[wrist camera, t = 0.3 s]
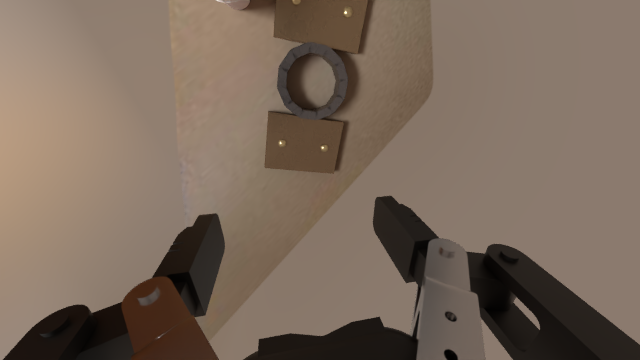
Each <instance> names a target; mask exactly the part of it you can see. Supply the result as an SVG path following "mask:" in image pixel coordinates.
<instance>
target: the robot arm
mask: <svg viewBox="0 0 640 360" xmlns="http://www.w3.org/2000/svg"><path fill="white" fill-rule="evenodd" d="M373 227H374V231H375V233H376V235H377V236H378V238H379V239H380V241H381V243H382V244H383V246H384V248H385V249H386V251H387V253H388V254H389V256H390V257H391V259H392V261H393V262H394V264H395V266H396V267H397V269H398V271H399V272H400V274H401V276H402V277H403V279H404V281H405V282H406V283H409V282H415V281H416V283H417V284H418V288H417V293H416V300H415V306H414V312H413V319H412V326H411V331H410V335H408V334H406V333H404V332H402V331H399V330H396V329H393V328H388V327H384V326H383V324H382V322H381V319H380V317H376V318H371V319H366V320H360V321H355V322H351V323H349V324H347V325H345V326H343V327H341V328H339V329H337V330H335V331H333V332H331V333H329V334H327V335H325V336H312V335H301V334H285V335H280V336H274V337H269V338H264V339H259V346H258V351H257V352H255V353H253V354H251V355H250V356H248V357H246V358H245V359H244V360H485V352H484V343H483V335H482V327H481V318H482V320H483V321H484V322H485V323H486V325H487V326H488V327H489V329H490V330H491V331H492V333H493V334H494V335H495V337H496V338H497V339H498V340H499V342H500V343H501V344H502V346H503V347H504V348H505V350H506V351H507V352H508V354H509V355H510V356H511V357H512V359H513V360H640V345H639V344H638V343H637V342H635V341H634V340H633V339H632V338H630V337H629V336H627V335H626V334H625V333H624V332H623V331H621V330H620V329H619V328H618V327H616V326H615V325H614V324H613V323H611V322H610V321H609V320H607V319H606V318H605V317H604V316H602V315H601V314H600V313H599V312H597V311H596V310H595V309H593V308H592V307H591V306H589V305H588V304H587V303H586V302H585V301H583V300H582V299H581V298H579V297H578V296H577V295H576V294H574V293H573V292H572V291H571V290H569V289H568V288H567V287H565V286H564V285H563V284H562V283H560V282H559V281H558V280H557V279H555V278H554V277H553V276H552V275H550V274H549V273H548V272H546V271H545V270H544V269H543V268H541V267H540V266H539V265H538V264H536V263H535V262H534V261H532V260H531V259H530V258H529V257H527V256H526V255H525V254H523V253H522V252H520V251H518V250H517V249H515V248H512V247H509V246H506V245H501V244H492V245H490V246H488V248H487V250H486V253H485V254H483V253H472V252H466V251H465V250H464V249H463V248H462V247H461V246H460V245H459V244H456V243H455V242H453V241H450V240H448V239H441V238H439V237H438V236H437V235H436V234H435V233H434V232H433V231H432V230H431V229H430V228H429V227H428V226H427V225H426V224H425V223H424V222H423V221H422V220H421V219H420V218H419V217H418V216H417V215H416V214H415V213H414V212H413V211H412V210H411V209H410V208H408V207H407V206H405V205H403V204H399V203H398V202H397V201H396V200H395V199H394V198H393V197H392V196H384V197H377V198H376V200H375V208H374V217H373ZM224 249H225V242H224V236H223V233H222V229H221V225H220V221H219V217H218V215H217V214H216V213H215V214H206V215H199V216H198V218H197V219H196V221H195V223H194V225H193V226H192V227H187V228H186V229H184V230H183V231H182V232H181V233H180V234H178V236H177V237H176V239H175V241H174V242H173V245H172V246H171V247H170V249H169V252H168V253H167V254H166V256H165V257H164V259H163V260H162V262H161V264H160V265H159V267H158V269H157V270H156V272H155V274H154V275H153V277H152V278H151V279H148V280H146V281H144V282H142V283H140V284H138V285H137V286H136V287H134V288H133V289H132V290H131V291H130V292H129V293H128V294H127V295H126V296H125V298H124V299H123V301H122V302H121V303H118V304H115V305H113V306H110V307H107V308H105V309H102V310H99V311H97V312H94V313H91V311H90V310H89V308H88V307H87V306H85V305H73V306H69V307H66V308H63V309H61V310H58V311H57V312H54V313H52V314H51V315H49V316H47V317H46V318H44V319H43V320H41V321H40V322H39V323H37V324H36V325H35V326H34V327H32V328H31V330H30V331H28V332H27V333H26V335H25V336H24V337H23V338H22V339H21V340H20V341H19V342H18V343H17V345H16V346H15V347H14V348H13V349H12V350H11V351H10V352H9V354H8V355H7V356H6V357H5V358H4V359H3V360H219V359H218V357H217V355H216V354H215V352H214V350H213V349H212V347H211V345H210V343H209V341H208V340H207V338H206V336H205V335H204V333H203V331H202V329H201V328H200V326H199V324H198V322H197V321H196V319H195V317H198V316H204V315H206V311H207V308H208V304H209V301H210V298H211V294H212V291H213V287H214V284H215V281H216V277H217V274H218V271H219V267H220V264H221V260H222V257H223V254H224ZM516 297H517V298H518V299H519V300H520V301H521V302H522V303H524V305H525V306H526V307H527V308H529V310H530V311H532V313H533V314H534V315H535V316H536V318H537V319H538V321H539V324H540V330H539V329H538V328H537V327H536V326H535V325H534V324H533V323H532V322H531V321H530V320H529V319H528V318H527V317H526V316H525V315H524V314H523V312H522V311H521V310H520V309H519V308H518V307H517V306H516V305H515V304H514V303H513V302H514V300H515V298H516ZM480 317H481V318H480Z"/></svg>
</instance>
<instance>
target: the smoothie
mask: <svg viewBox="0 0 640 360" xmlns="http://www.w3.org/2000/svg"><path fill="white" fill-rule="evenodd" d="M216 1H218V2H223V3H225V4H226V5H228V6H229V7H231V8H233V9H236V10H242V9H244V8H246V7H247V6H248V5H249V3H250V0H216Z"/></svg>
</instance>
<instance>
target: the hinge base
mask: <svg viewBox="0 0 640 360" xmlns="http://www.w3.org/2000/svg"><path fill="white" fill-rule="evenodd" d="M367 3H368V0H276V7H275V21H274V37H276V38H280V39H285V40H290V41H295V42H299V43H304V44H302V45H300V46H298V47H295V48H293V49H291V50H290V51H289V53H288V54H287V56H286V57H285V58H284V60H283V61H282V63H281V64H280V66H279V67H280V68H279V70H278V82H277V87H278V88H277V89H278V91H279V93H280V96H281V98H282V100H283V103H284V105H285V106H286V108H288V109H289V110H290V111H292V112H293V113H294V114H295V115H292V114H285V113H278V112H270V111H269V112H268V125H267V140H266V155H265V168H273V169H285V170H297V171H309V172H320V173H332V174H334V170H335V165H336V160H337V155H338V150H339V145H340V140H341V134H342V129H343V124H344V123H343V122H342V121H335V120H328V119H322V118H324V117H326V116H329V115H331V114H333V113H334V112H335V111H336V109H337V108H338V107H339V106H340V104H341V103H342V102H343V101H344V99H343V98H345V95H346V90H347V84H348V80H347V79H348V77H347V73H346V70H345V66H344V63H343V61H342V59H341V58H340V57H339V56H338V55H337V54H336V53H335V52H334V51H333V50H337V51H342V52H346V53H351V54H358V49H359V44H360V39H361V34H362V28H363V23H364V18H365V13H366V8H367ZM307 54H310V55H315V56H320V57H322V58H323V59H324V60H325V61H326V62H327V63H329V64H330V65H331V66H332V69H333V72H334V75H335V79H336V83H335V89H334V94H333V96H332V97H331V98H330V100H329V101H328V102H327V104H326V105H324V106H322V107H319V108H317V109H315V110H312V109H305V108H301V107H299V106H298V105H297V104H296V103H295V102H293V101H292V100H291V98H290V95H289V93H288V91H287V88H286V81H287V71H288V70H289V68H290V67H291V65H292V64H293V62H294V61H295V59H297V58H300V57H302V56H304V55H307ZM332 112H333V113H332Z"/></svg>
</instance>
